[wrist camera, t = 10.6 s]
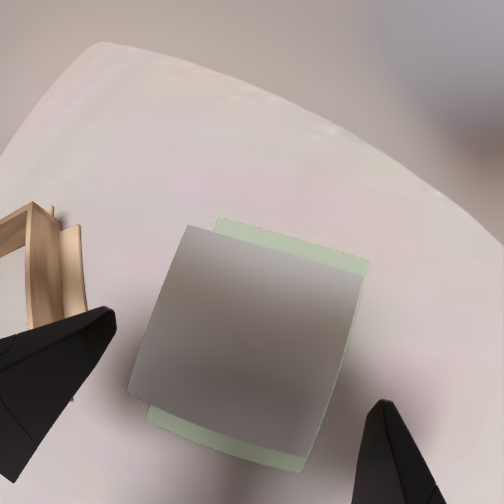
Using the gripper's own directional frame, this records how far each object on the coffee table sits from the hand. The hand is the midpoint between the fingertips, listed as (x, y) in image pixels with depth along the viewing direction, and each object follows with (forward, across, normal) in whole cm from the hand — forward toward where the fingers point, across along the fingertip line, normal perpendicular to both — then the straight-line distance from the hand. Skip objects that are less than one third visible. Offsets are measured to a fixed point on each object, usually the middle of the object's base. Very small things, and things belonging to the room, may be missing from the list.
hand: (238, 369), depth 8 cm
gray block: (+7, 0, +5) cm, 8 cm away
